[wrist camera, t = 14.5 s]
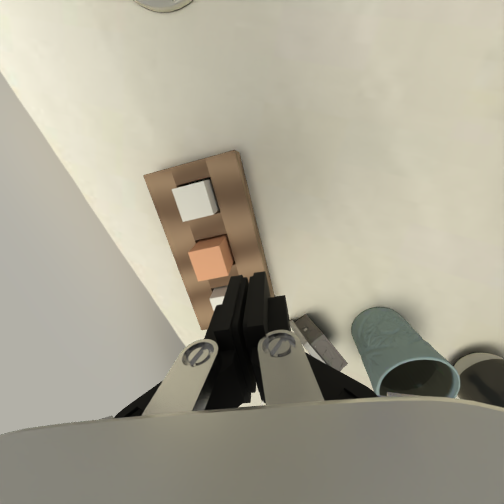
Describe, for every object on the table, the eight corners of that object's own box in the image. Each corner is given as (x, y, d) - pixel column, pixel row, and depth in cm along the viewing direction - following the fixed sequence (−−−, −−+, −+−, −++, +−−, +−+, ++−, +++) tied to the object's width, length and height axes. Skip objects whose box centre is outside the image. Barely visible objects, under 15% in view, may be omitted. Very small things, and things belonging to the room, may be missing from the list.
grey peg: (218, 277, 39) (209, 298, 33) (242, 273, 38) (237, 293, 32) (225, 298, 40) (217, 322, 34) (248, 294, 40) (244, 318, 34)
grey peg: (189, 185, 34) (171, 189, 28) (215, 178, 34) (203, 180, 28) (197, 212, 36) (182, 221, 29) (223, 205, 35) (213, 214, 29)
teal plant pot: (370, 293, 39) (410, 345, 28) (422, 318, 40) (481, 378, 29) (336, 338, 43) (359, 400, 31) (384, 360, 43) (424, 428, 32)
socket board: (160, 173, 35) (143, 175, 30) (239, 152, 33) (234, 150, 29) (209, 312, 43) (201, 330, 38) (275, 300, 41) (276, 317, 36)
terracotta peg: (202, 237, 35) (187, 252, 29) (228, 231, 35) (219, 245, 28) (210, 262, 36) (198, 281, 30) (235, 256, 36) (228, 275, 30)
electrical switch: (287, 320, 42) (295, 352, 34) (308, 305, 41) (322, 335, 33) (313, 351, 44) (327, 389, 36) (335, 337, 43) (354, 373, 35)
